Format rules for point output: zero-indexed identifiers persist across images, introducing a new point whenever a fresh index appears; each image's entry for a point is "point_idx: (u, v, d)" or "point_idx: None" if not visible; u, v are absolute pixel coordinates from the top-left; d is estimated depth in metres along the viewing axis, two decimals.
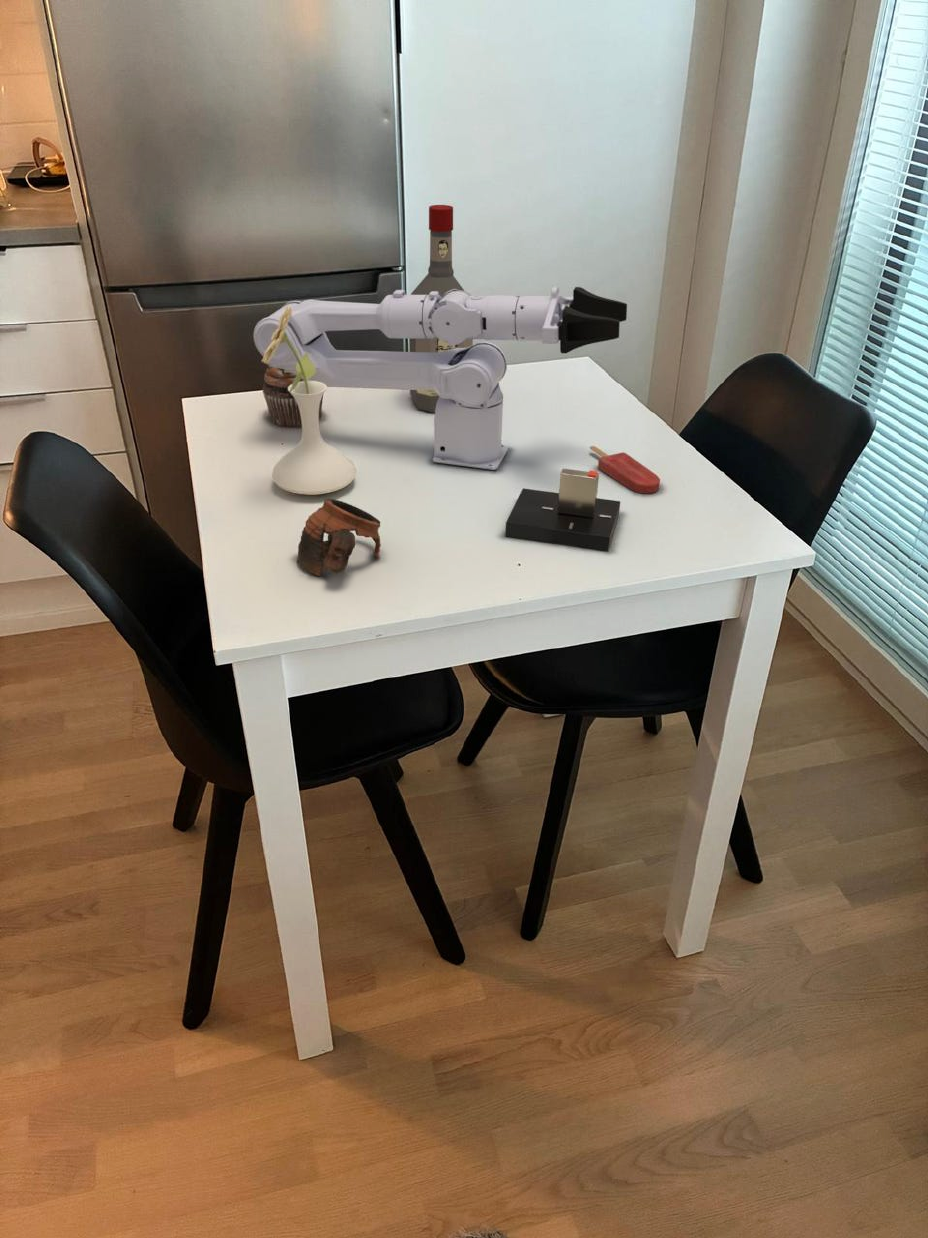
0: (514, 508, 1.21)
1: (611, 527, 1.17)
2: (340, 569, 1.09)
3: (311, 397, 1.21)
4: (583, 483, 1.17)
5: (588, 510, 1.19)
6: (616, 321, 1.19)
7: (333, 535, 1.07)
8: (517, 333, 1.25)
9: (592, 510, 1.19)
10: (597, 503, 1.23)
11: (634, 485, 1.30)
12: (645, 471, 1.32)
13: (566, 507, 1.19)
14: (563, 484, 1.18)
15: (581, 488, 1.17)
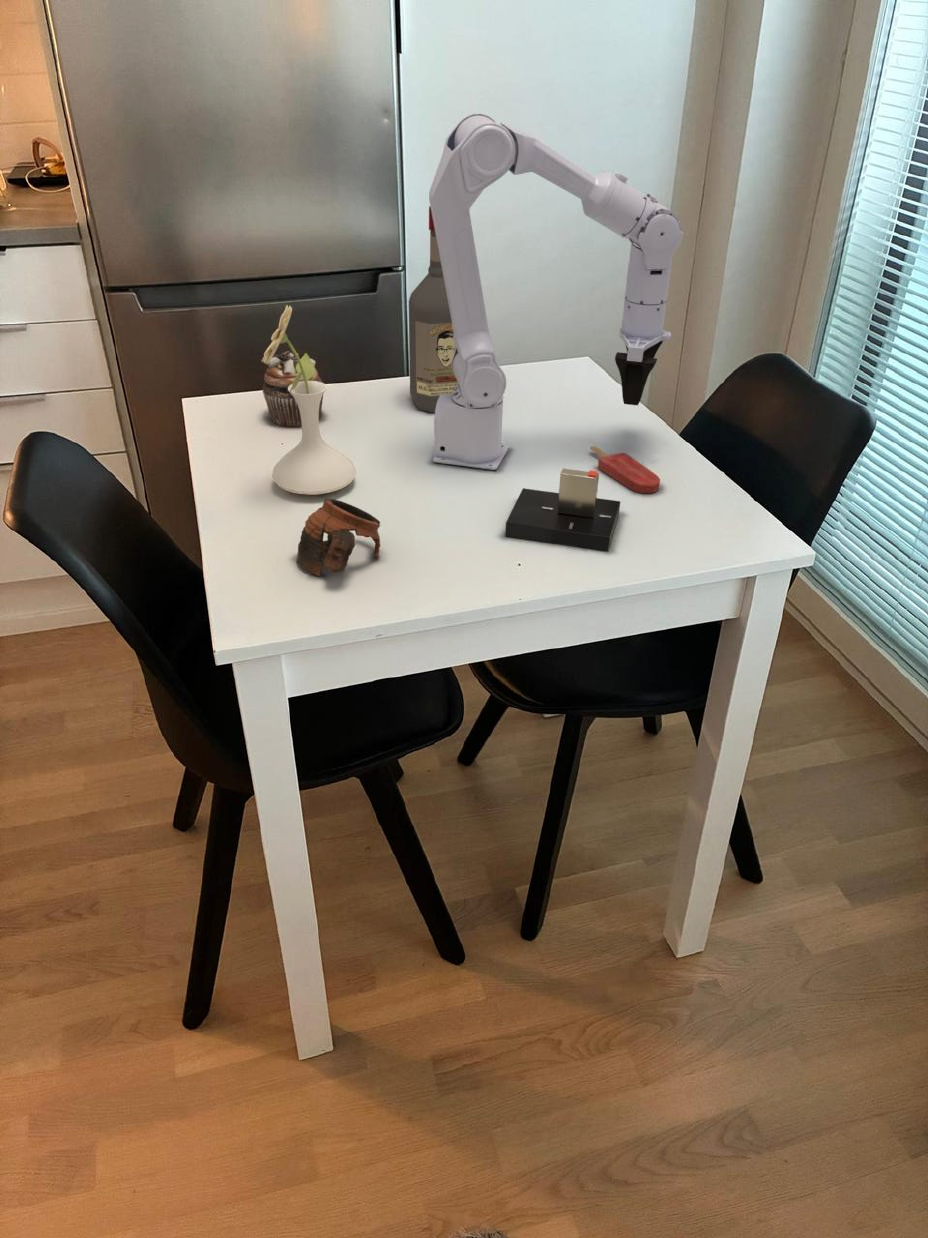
0: (514, 508, 1.21)
1: (611, 527, 1.17)
2: (340, 569, 1.09)
3: (311, 397, 1.21)
4: (583, 483, 1.17)
5: (588, 510, 1.19)
6: (638, 402, 1.34)
7: (333, 535, 1.07)
8: (634, 304, 1.28)
9: (592, 510, 1.19)
10: (597, 503, 1.23)
11: (634, 485, 1.30)
12: (645, 471, 1.32)
13: (566, 507, 1.19)
14: (563, 484, 1.18)
15: (581, 488, 1.17)
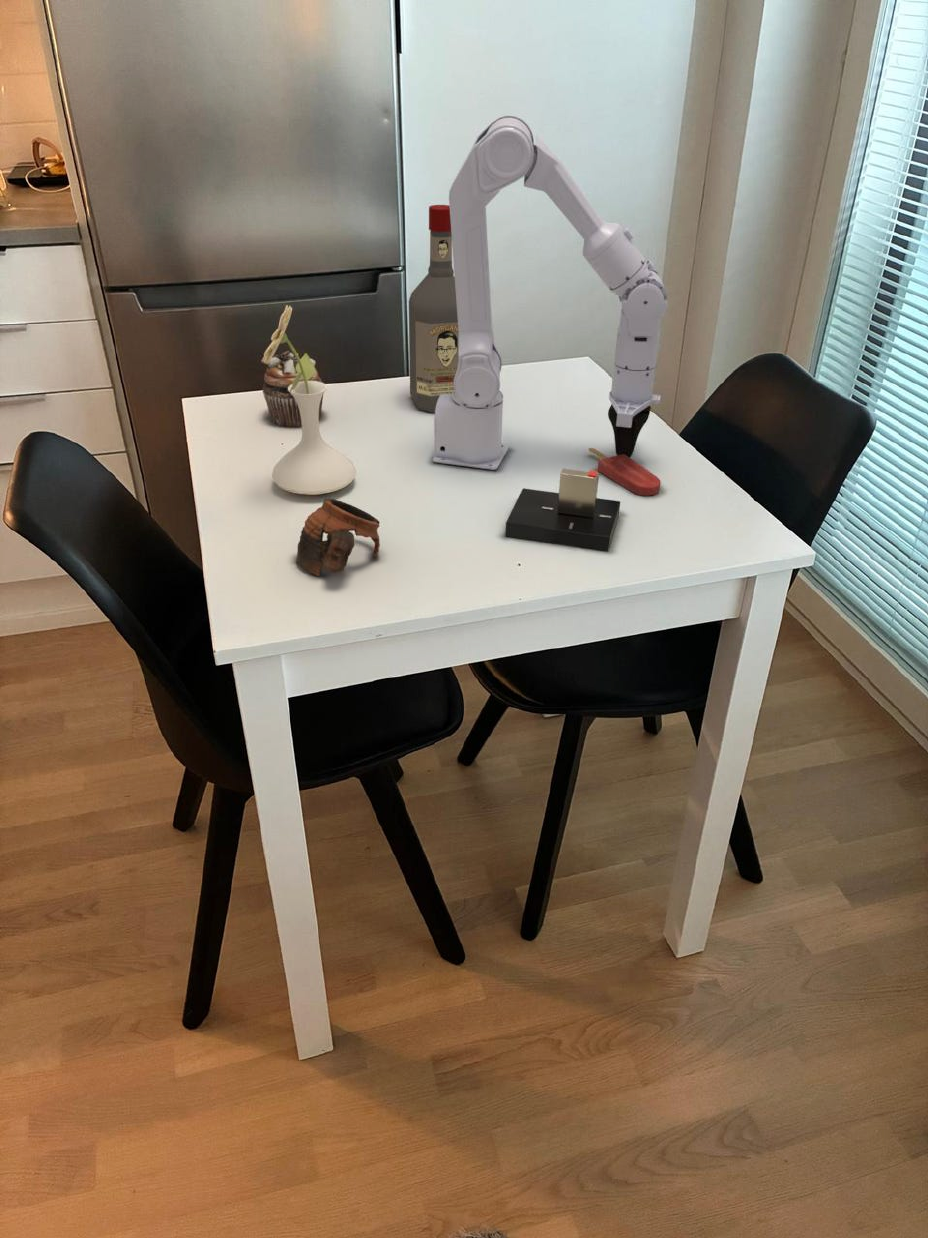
0: (514, 508, 1.21)
1: (611, 527, 1.17)
2: (339, 569, 1.09)
3: (311, 397, 1.21)
4: (583, 483, 1.17)
5: (588, 510, 1.19)
6: (631, 455, 1.36)
7: (332, 535, 1.07)
8: (623, 370, 1.28)
9: (592, 510, 1.19)
10: (597, 503, 1.23)
11: (635, 487, 1.29)
12: (645, 473, 1.32)
13: (566, 507, 1.19)
14: (563, 484, 1.18)
15: (581, 488, 1.17)
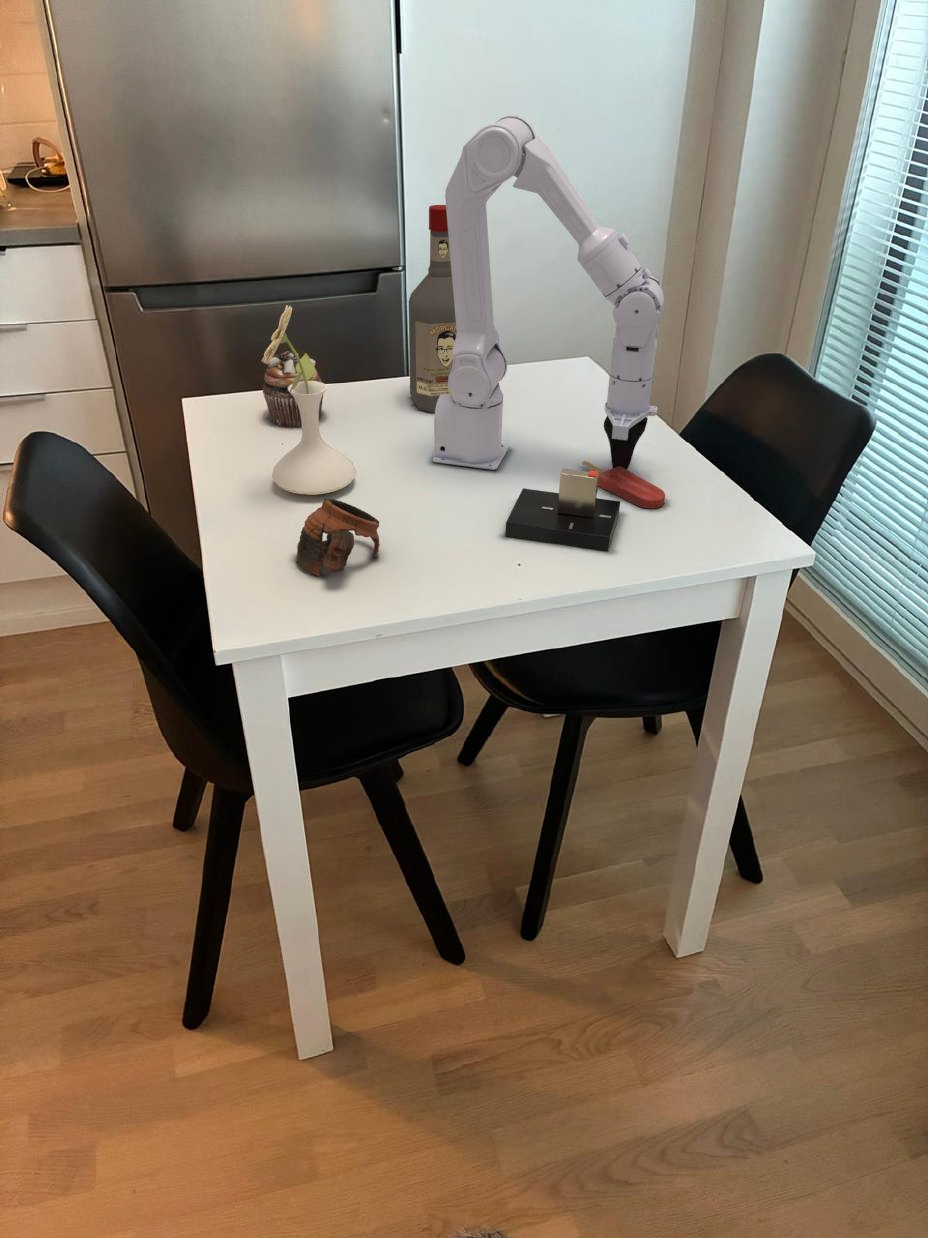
0: (514, 508, 1.21)
1: (611, 527, 1.17)
2: (339, 569, 1.09)
3: (311, 397, 1.21)
4: (583, 483, 1.17)
5: (588, 510, 1.19)
6: (627, 467, 1.33)
7: (332, 535, 1.07)
8: (619, 381, 1.24)
9: (592, 510, 1.19)
10: (597, 503, 1.23)
11: (641, 501, 1.26)
12: (647, 485, 1.28)
13: (566, 507, 1.19)
14: (563, 484, 1.18)
15: (581, 488, 1.17)
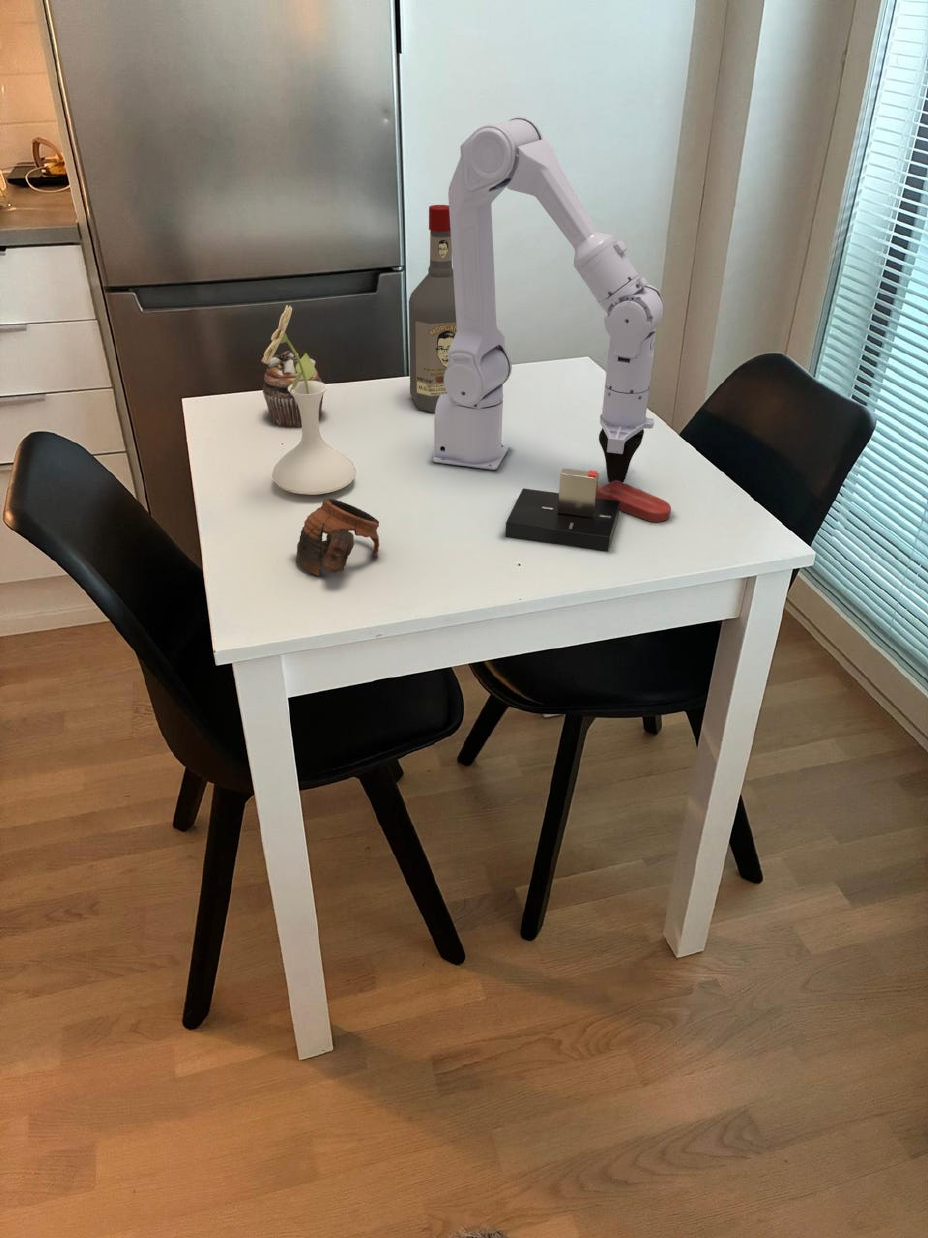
0: (514, 508, 1.21)
1: (611, 527, 1.17)
2: (339, 569, 1.09)
3: (311, 397, 1.21)
4: (583, 483, 1.17)
5: (588, 510, 1.19)
6: (623, 481, 1.29)
7: (332, 535, 1.07)
8: (614, 392, 1.21)
9: (592, 510, 1.19)
10: (597, 503, 1.23)
11: (648, 515, 1.23)
12: (650, 497, 1.25)
13: (566, 507, 1.19)
14: (563, 484, 1.18)
15: (581, 488, 1.17)
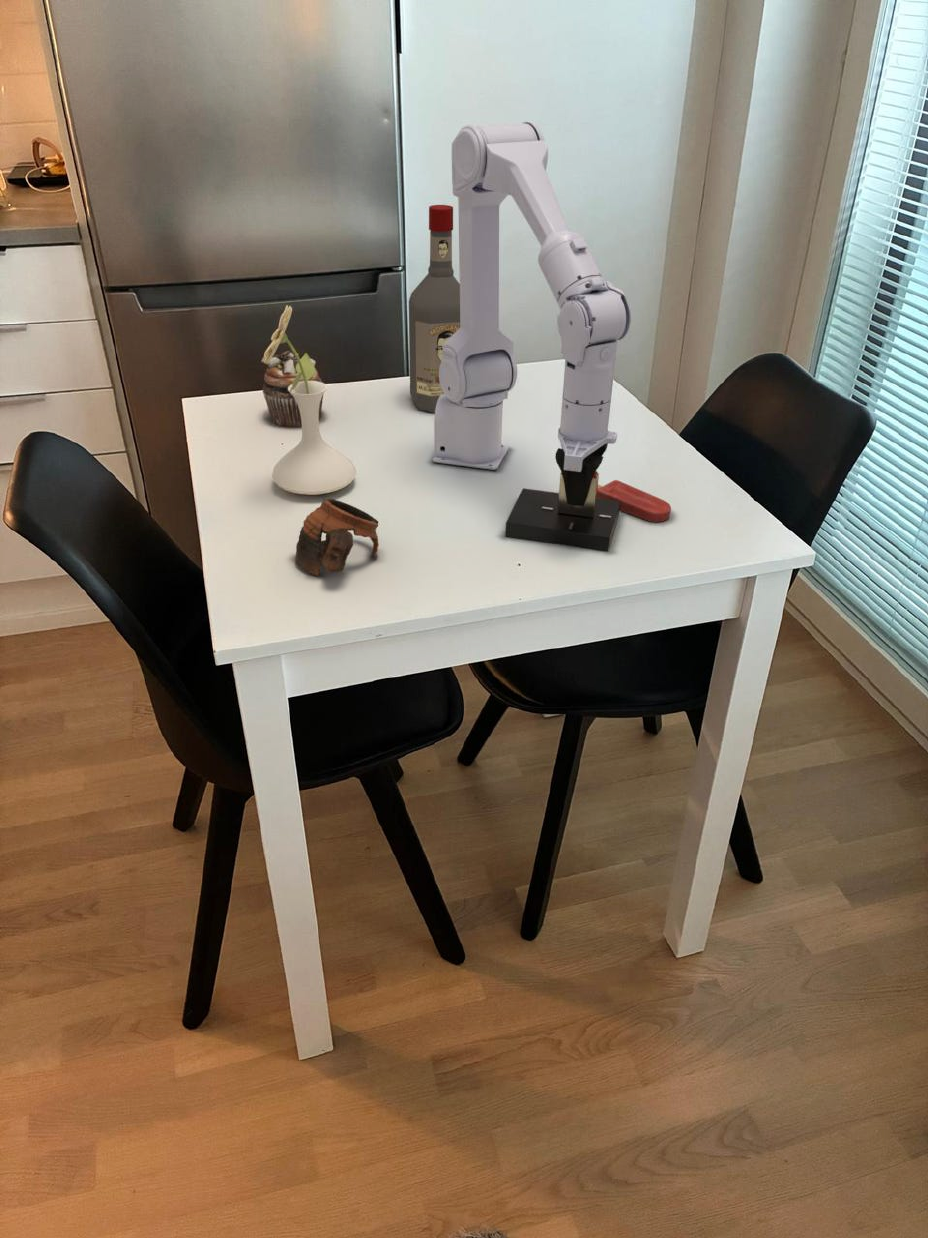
0: (514, 508, 1.21)
1: (611, 527, 1.17)
2: (338, 569, 1.09)
3: (311, 397, 1.21)
4: None
5: (588, 510, 1.19)
6: (583, 503, 1.18)
7: (331, 535, 1.07)
8: (572, 404, 1.10)
9: (592, 510, 1.19)
10: (597, 503, 1.23)
11: (648, 515, 1.23)
12: (650, 497, 1.25)
13: (566, 507, 1.19)
14: (563, 484, 1.18)
15: None
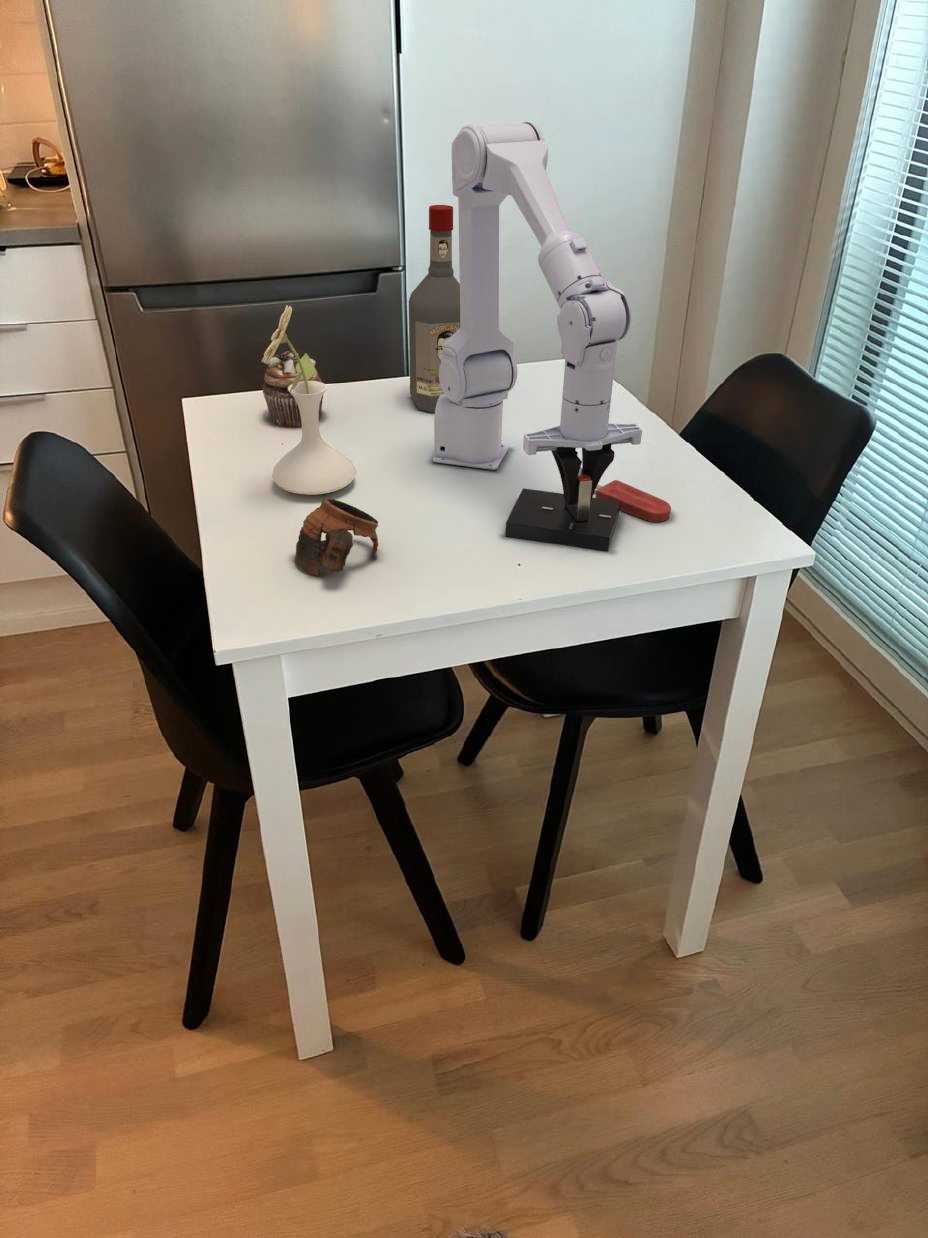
0: (514, 508, 1.21)
1: (611, 527, 1.17)
2: (338, 569, 1.09)
3: (311, 397, 1.21)
4: None
5: (575, 512, 1.18)
6: (570, 502, 1.18)
7: (331, 535, 1.07)
8: (562, 396, 1.12)
9: (576, 513, 1.18)
10: (597, 503, 1.23)
11: (648, 515, 1.23)
12: (650, 497, 1.25)
13: None
14: None
15: None
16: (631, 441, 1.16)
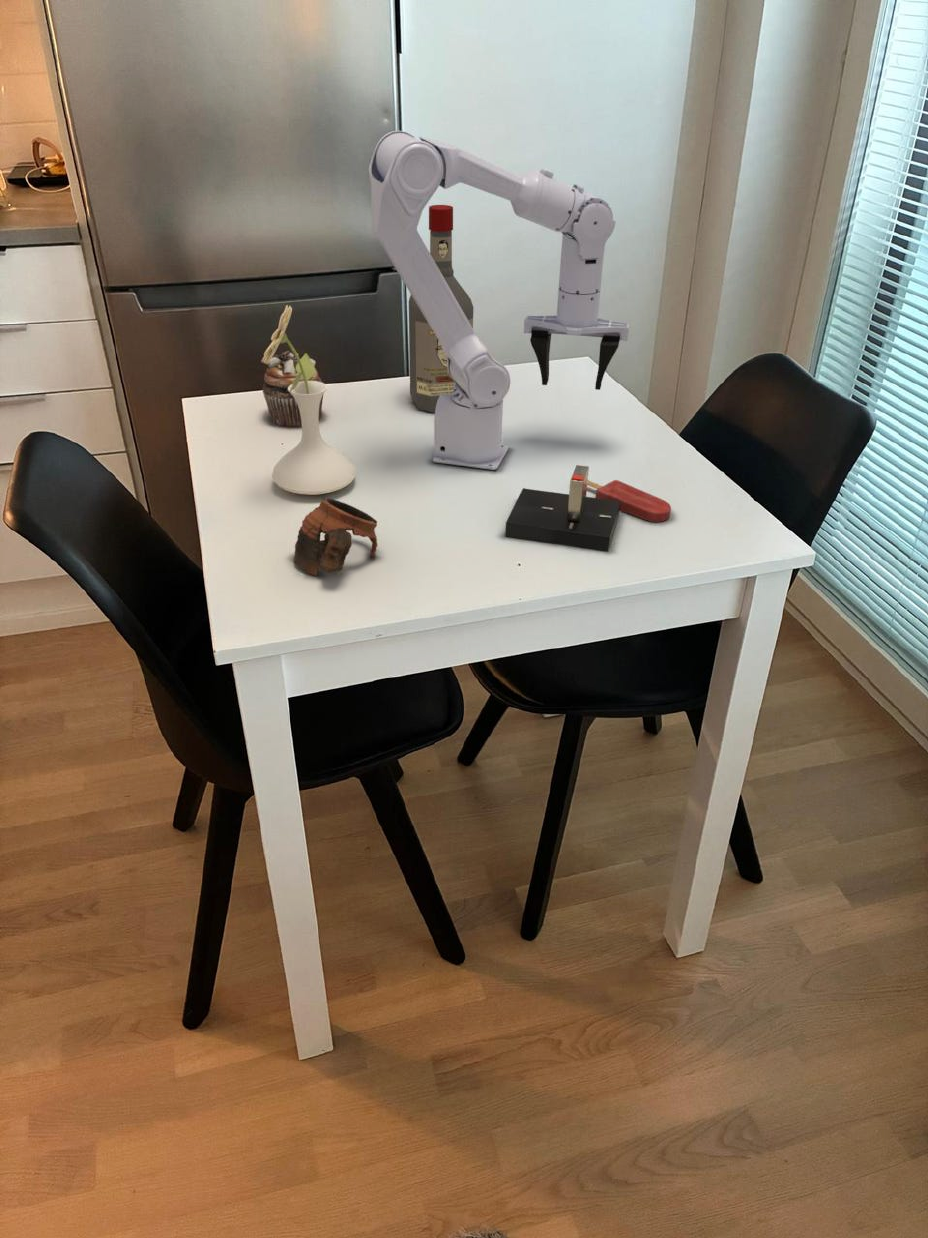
0: (514, 508, 1.21)
1: (611, 527, 1.17)
2: (337, 569, 1.09)
3: (311, 397, 1.21)
4: None
5: None
6: (542, 382, 1.37)
7: (330, 535, 1.07)
8: None
9: None
10: (597, 503, 1.23)
11: (648, 515, 1.23)
12: (650, 497, 1.25)
13: None
14: None
15: None
16: (619, 337, 1.32)
